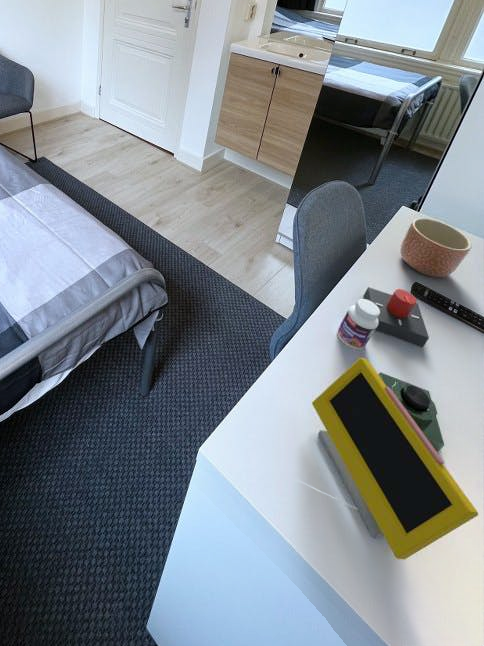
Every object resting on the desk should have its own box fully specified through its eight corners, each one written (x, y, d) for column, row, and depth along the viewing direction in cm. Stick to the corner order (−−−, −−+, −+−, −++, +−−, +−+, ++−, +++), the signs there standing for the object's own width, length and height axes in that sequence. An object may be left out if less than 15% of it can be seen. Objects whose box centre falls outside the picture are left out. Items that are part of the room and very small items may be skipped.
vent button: (399, 387, 76) (403, 381, 75) (422, 396, 74) (427, 390, 74) (403, 405, 73) (407, 399, 72) (428, 415, 72) (432, 409, 71)
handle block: (412, 312, 96) (418, 302, 95) (422, 347, 88) (429, 337, 86) (363, 296, 99) (368, 286, 98) (368, 328, 91) (374, 318, 90)
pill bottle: (332, 336, 89) (349, 304, 84) (342, 323, 92) (359, 291, 87) (359, 355, 85) (378, 322, 80) (369, 341, 88) (388, 309, 84)
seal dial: (384, 300, 95) (393, 285, 92) (405, 307, 93) (415, 292, 91) (387, 313, 91) (397, 298, 89) (409, 321, 90) (419, 305, 88)
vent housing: (375, 378, 81) (383, 365, 79) (423, 398, 78) (433, 385, 76) (383, 429, 72) (393, 415, 71) (438, 452, 70) (450, 439, 68)
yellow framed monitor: (304, 414, 74) (336, 356, 66) (345, 411, 75) (381, 354, 67) (385, 569, 56) (441, 515, 49) (438, 564, 57) (500, 509, 50)
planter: (444, 291, 103) (466, 258, 98) (388, 261, 111) (406, 229, 106) (455, 269, 110) (476, 237, 105) (402, 243, 118) (419, 212, 113)
